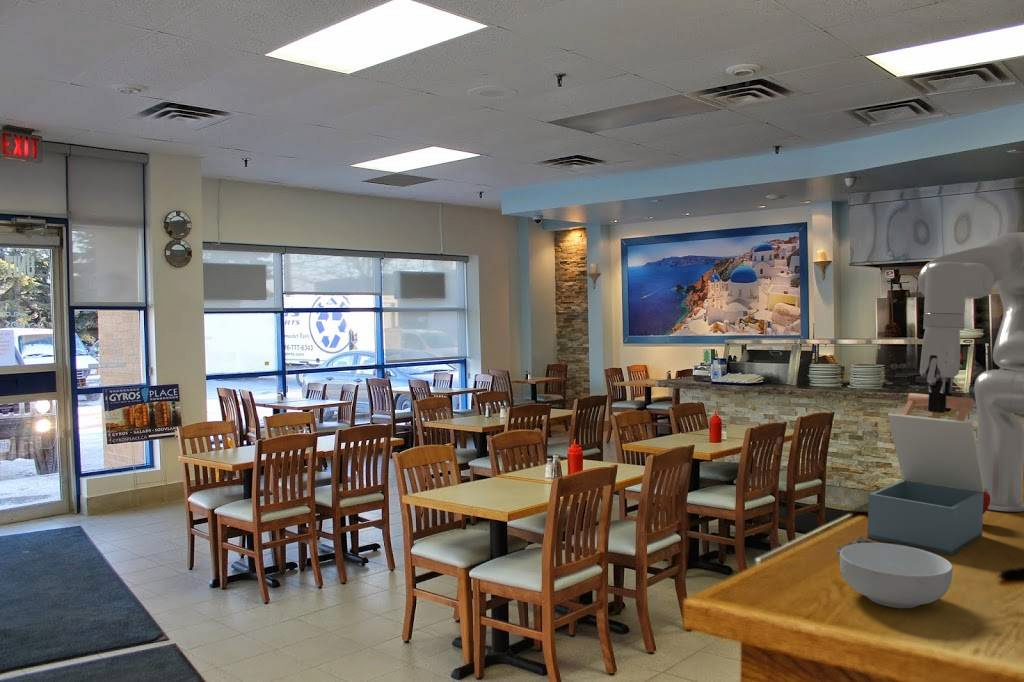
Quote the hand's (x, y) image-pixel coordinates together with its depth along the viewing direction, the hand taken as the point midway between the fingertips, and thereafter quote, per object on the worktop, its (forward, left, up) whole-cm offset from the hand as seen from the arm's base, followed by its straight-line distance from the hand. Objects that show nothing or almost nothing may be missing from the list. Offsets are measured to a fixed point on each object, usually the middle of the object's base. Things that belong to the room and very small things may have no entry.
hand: (939, 410), depth 178 cm
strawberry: (-12, +4, -25) cm, 28 cm away
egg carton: (+31, -2, -26) cm, 40 cm away
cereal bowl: (+46, +9, -26) cm, 53 cm away
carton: (+6, 0, -25) cm, 26 cm away
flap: (+2, 0, -9) cm, 9 cm away
